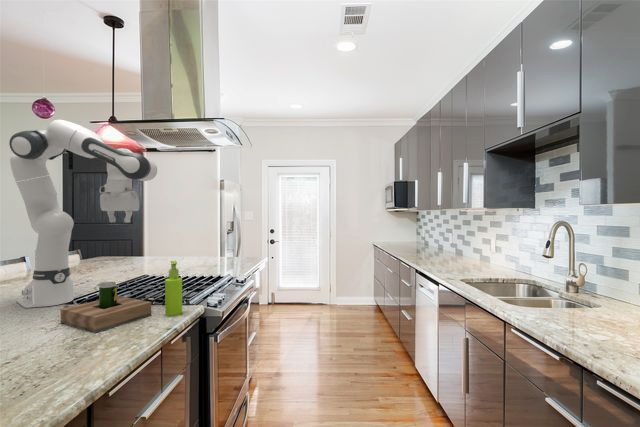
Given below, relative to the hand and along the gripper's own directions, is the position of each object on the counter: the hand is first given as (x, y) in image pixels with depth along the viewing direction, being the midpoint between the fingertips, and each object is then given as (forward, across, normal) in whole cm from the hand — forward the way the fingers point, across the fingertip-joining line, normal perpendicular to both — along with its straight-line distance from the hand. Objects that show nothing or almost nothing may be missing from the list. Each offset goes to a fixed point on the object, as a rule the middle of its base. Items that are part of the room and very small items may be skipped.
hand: (119, 222), depth 138 cm
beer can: (+33, -13, +13) cm, 38 cm away
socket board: (+34, -13, +13) cm, 39 cm away
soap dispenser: (+34, -29, -2) cm, 45 cm away
